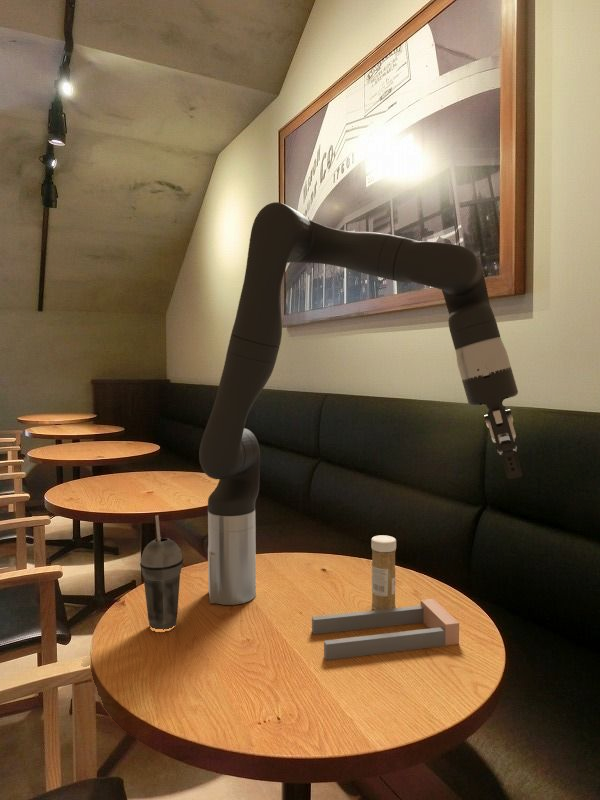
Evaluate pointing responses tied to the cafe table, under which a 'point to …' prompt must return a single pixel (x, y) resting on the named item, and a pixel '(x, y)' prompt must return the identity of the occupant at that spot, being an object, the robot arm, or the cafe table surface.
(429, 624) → the guide channel
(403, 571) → the cafe table surface
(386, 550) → the sprinkles bottle
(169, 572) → the beverage cup
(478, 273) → the robot arm
